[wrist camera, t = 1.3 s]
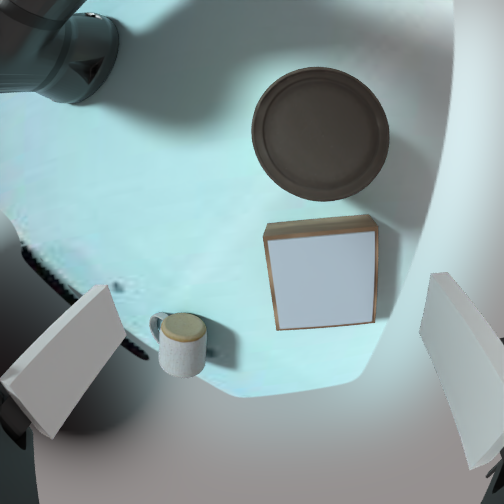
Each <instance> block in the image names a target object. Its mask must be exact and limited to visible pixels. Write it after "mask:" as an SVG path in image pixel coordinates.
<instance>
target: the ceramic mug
mask: <svg viewBox="0 0 504 504" xmlns="http://www.w3.org/2000/svg"><path fill="white" fill-rule="evenodd" d="M158 318H160V319H161V320H163V322H162V324H161V328H160V332H159V330H158V327H157V319H158ZM149 326H150V330H151V333H152V335H153V337H154V339H155V340H156V341H157V343H158V344H159V363H160V365H161V367H162V369H164V371H165V372H167V373H168V374H170V375H172V376H175V377H180V378H188V377H193V376H195V375H197V374H199V373H200V372H201V371H202V370H203V368H204V366H205V358H206V344H207V329H206V325H205V323H204V322H203V321H202V320H201V319H200V318H199V317H197V316H195V315H192V314H189V313H175V314H172V315H170V316H169V315H167V314H165V313H162V312H159V313H156V314H154V315H153V316H152V317H151V318H150V321H149Z"/></svg>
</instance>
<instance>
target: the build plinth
mask: <svg viewBox="0 0 504 504" xmlns="http://www.w3.org/2000/svg"><path fill="white" fill-rule="evenodd" d="M263 242H264V248H265V255H266V261H267V268H268V275H269V282H270V289H271V295H272V302H273V309H274V316H275V323H276V330H277V331H279V330H297V329H313V328H326V327H338V326H349V325H359V324H369V323H375V316H376V302H377V283H378V225H377V224H376V223H375V222H374V220H373V219H372V218H371V217H370V215H369V214H367V215H354V216H342V217H330V218H319V219H308V220H297V221H287V222H277V223H267V226H266V229H265V232H264V235H263Z"/></svg>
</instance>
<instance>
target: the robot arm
mask: <svg viewBox="0 0 504 504" xmlns="http://www.w3.org/2000/svg"><path fill="white" fill-rule="evenodd" d="M85 1H86V0H0V93H11V92H36V93H38V94H40V95H42V96H45V97H47V98H49V99H51V100H52V101H54V102H58V103H76V102H80V101H82V100H84V99H86V98H88V97H89V96H91V95H92V94H93V93H94V92H95V91H96V90H97V89H98V88H99V87H100V86H101V85H102V84H103V82H104V81H105V80H106V78H107V76H108V75H109V73H110V71H111V69H112V67H113V65H114V62H115V59H116V56H117V52H118V45H119V38H118V32H117V29H116V26H115V25H114V23H113V22H112V21H111V20H110V19H108V18H107V17H104V16H102V15H100V14H97V13H75V12H76V11H77V10H78V9H79V8H80V7H81V6H82V4H83V3H84V2H85ZM74 13H75V14H74ZM419 334H420V336H421V338H422V340H423V342H424V345H425V347H426V349H427V351H428V354H429V356H430V358H431V360H432V363H433V365H434V368H435V370H436V372H437V375H438V377H439V380H440V382H441V385H442V387H443V390H444V392H445V395H446V398H447V400H448V403H449V406H450V409H451V411H452V414H453V417H454V420H455V423H456V426H457V429H458V432H459V435H460V438H461V442H462V445H463V448H464V451H465V455H466V459H467V462H468V466H469V470H471V469H474V468H476V467H479V466H481V465H484V464H487V463H489V462H490V461H491V460H492V459H493V458H494V457H495V456H496V455H497V454H498V453H499V452H500V454H501V457H502V459H501V460H500V461H499V462H498V463H497V464H496V465H495V466H494V467H493V468H492V469H491V470H490V471H489V472H488V474H487V475H486V478H488V477H490V476H491V475H492V474H493V473H494V472H495V473H494V475H493V478H492V480H491V483H490V485H489V487H488V489H487V492H486V494H485V496H484V498H483V500H482V502H481V504H504V338H500V339H499V338H498V336H497V335H496V333H495V332H494V330H493V329H492V328H491V327H490V325H489V324H488V322H487V321H486V319H485V318H484V317H483V316H482V314H481V313H480V311H479V310H478V309H477V308H476V306H475V305H474V304H473V302H472V301H471V300H470V299H469V297H468V296H467V295H466V294H465V292H464V291H463V290H462V289H461V288H460V286H459V285H458V284H457V283H456V282H455V280H454V279H453V278H452V277H451V276H450V275H449V273H447V272H444V273H433V274H431V275H430V282H429V288H428V293H427V299H426V304H425V308H424V313H423V317H422V322H421V326H420V330H419ZM125 337H126V333H125V330H124V328H123V325H122V323H121V320H120V318H119V315H118V312H117V310H116V307H115V304H114V302H113V299H112V296H111V293H110V290H109V288H108V285H94V286H93V287H92V288H91V289H90V290H89V291H88V292H87V293H85V294H84V295H83V296H82V297H81V298H80V299H79V300H78V301H77V302H76V303H74V304H73V305H72V306H71V307H70V308H69V309H68V310H67V311H66V312H65V313H64V314H63V315H62V316H61V317H60V318H58V319H57V320H56V321H55V322H54V323H53V324H52V325H51V326H50V327H49V328H48V329H47V330H46V331H45V332H44V333H43V334H42V335H41V336H40V337H39V338H38V339H37V340H36V341H35V342H34V343H33V344H32V345H31V346H30V347H29V348H28V349H27V350H26V351H25V352H24V353H23V354H22V355H21V356H20V357H19V358H18V359H17V361H16V362H15V363H14V364H13V365H12V366H11V367H10V368H9V369H8V370H7V371H6V372H5V374H4V375H3V376H2V377H1V378H0V504H39V499H38V491H37V484H36V475H35V464H34V448H33V432H32V430H31V428H30V427H29V425H30V424H31V423H32V424H33V425H34V426H35V427H36V428H37V429H38V431H39V432H40V433H42V434H44V435H46V436H47V437H49V438H51V439H53V438H54V436H55V435H56V433H57V432H58V430H59V429H60V427H61V426H62V424H63V423H64V421H65V420H66V418H67V417H68V415H69V414H70V412H71V411H72V410H73V408H74V407H75V405H76V404H77V402H78V401H79V400H80V398H81V397H82V395H83V394H84V392H85V391H86V389H87V388H88V387H89V385H90V384H91V382H92V381H93V380H94V378H95V377H96V376H97V374H98V373H99V372H100V370H101V369H102V367H103V366H104V365H105V363H106V362H107V360H108V359H109V358H110V356H111V355H112V353H113V352H114V351H115V350H116V348H117V347H118V346H119V344H120V343H121V342H122V340H123V339H124V338H125Z"/></svg>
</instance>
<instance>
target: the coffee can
mask: <svg viewBox="0 0 504 504" xmlns="http://www.w3.org/2000/svg"><path fill="white" fill-rule="evenodd" d="M251 133H252V142H253V147H254V150H255V153H256V156H257V158H258V161H259V163H260V164H261V166H262V168H263V169H264V171H265V172H266V173H267V175H268V176H269V177H270V178H271V179H272V180H273V181H274V182H275V183H276V184H277V185H278V186H280V187H281V188H282V189H284V190H286V191H287V192H289V193H291V194H293V195H295V196H298V197H300V198H303V199H307V200H312V201H321V202H325V201H335V200H340V199H344V198H347V197H350V196H352V195H354V194H356V193H358V192H359V191H361V190H362V189H364V188H365V187H366V186H368V185H369V184H370V183H371V182H372V181H373V180H374V178H375V177H376V176H377V174H378V173H379V172H380V170H381V168H382V166H383V164H384V162H385V160H386V157H387V153H388V148H389V125H388V121H387V118H386V115H385V112H384V110H383V108H382V106H381V104H380V102H379V100H378V99H377V98H376V96H375V95H374V94H373V92H372V91H371V90H370V89H369V88H368V87H367V86H366V85H364V84H363V83H362V82H361V81H359V80H358V79H356V78H355V77H353V76H351V75H349V74H347V73H345V72H342V71H340V70H336V69H332V68H326V67H308V68H303V69H298V70H295V71H293V72H290V73H288V74H286V75H284V76H282V77H280V78H279V79H278V80H276V81H275V82H274V83H273V84H272V85H270V86H269V88H268V89H267V90H266V91H265V92H264V94H263V95H262V96H261V98H260V100H259V101H258V104H257V106H256V108H255V112H254V115H253V119H252V129H251Z"/></svg>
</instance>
